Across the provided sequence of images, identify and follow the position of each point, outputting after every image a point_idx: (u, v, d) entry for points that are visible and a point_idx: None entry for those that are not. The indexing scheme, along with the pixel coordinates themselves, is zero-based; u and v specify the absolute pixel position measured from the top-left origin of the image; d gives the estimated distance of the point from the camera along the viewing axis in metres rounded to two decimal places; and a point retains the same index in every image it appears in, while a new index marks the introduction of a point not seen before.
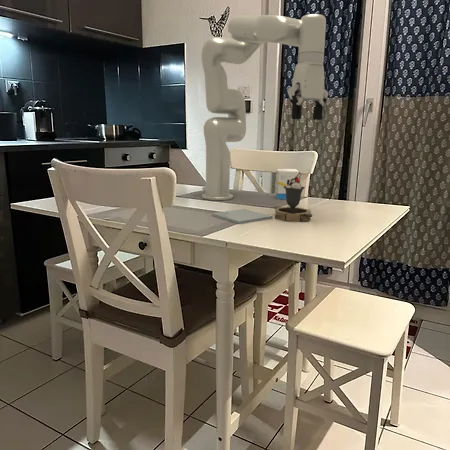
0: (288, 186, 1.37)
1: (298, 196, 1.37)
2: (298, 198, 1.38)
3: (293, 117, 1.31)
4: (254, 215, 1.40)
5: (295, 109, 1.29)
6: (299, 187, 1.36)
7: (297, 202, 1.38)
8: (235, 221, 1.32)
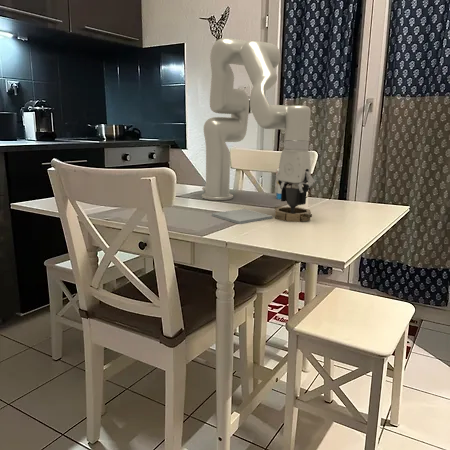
0: (288, 186, 1.37)
1: None
2: None
3: (300, 203, 1.36)
4: (254, 215, 1.40)
5: (305, 196, 1.36)
6: None
7: (297, 202, 1.38)
8: (235, 221, 1.32)
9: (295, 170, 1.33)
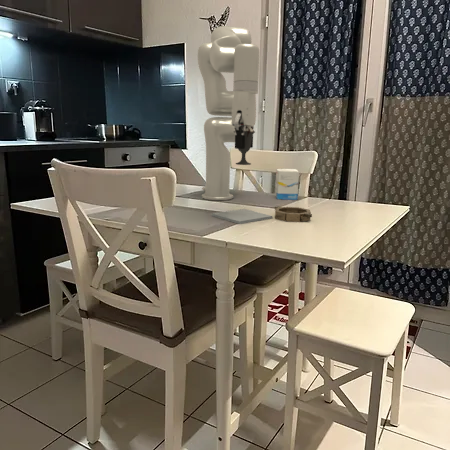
0: None
1: None
2: None
3: (236, 147, 1.32)
4: (254, 215, 1.40)
5: (240, 139, 1.31)
6: None
7: None
8: (235, 221, 1.32)
9: None
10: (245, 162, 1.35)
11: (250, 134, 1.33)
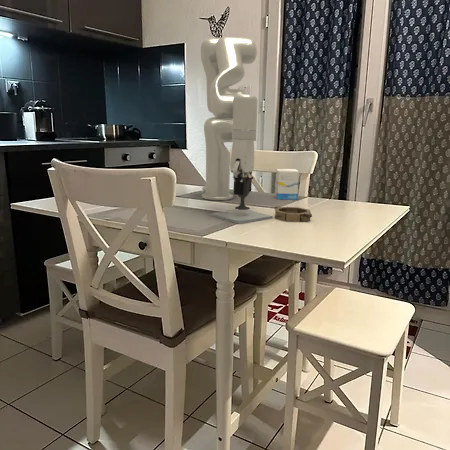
0: None
1: None
2: None
3: (235, 193, 1.35)
4: (254, 215, 1.40)
5: (238, 186, 1.34)
6: None
7: None
8: (235, 221, 1.32)
9: None
10: (244, 207, 1.39)
11: (249, 180, 1.36)
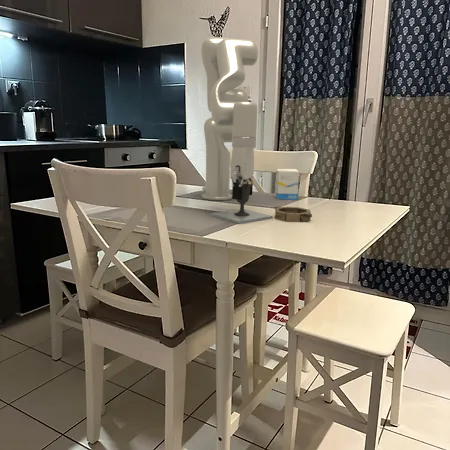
0: None
1: None
2: None
3: (234, 197, 1.35)
4: (254, 215, 1.40)
5: (237, 191, 1.33)
6: None
7: None
8: (235, 221, 1.32)
9: None
10: (243, 213, 1.39)
11: (248, 187, 1.37)
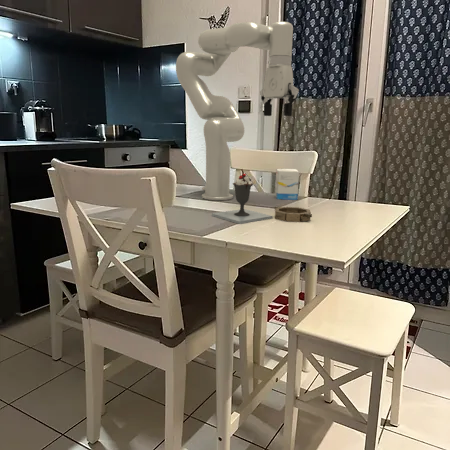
0: (236, 182, 1.39)
1: (239, 192, 1.37)
2: (240, 195, 1.37)
3: (286, 114, 1.44)
4: (254, 215, 1.40)
5: (290, 107, 1.44)
6: (238, 183, 1.36)
7: (239, 199, 1.38)
8: (235, 221, 1.32)
9: (278, 84, 1.42)
10: (243, 213, 1.39)
11: (248, 187, 1.37)
